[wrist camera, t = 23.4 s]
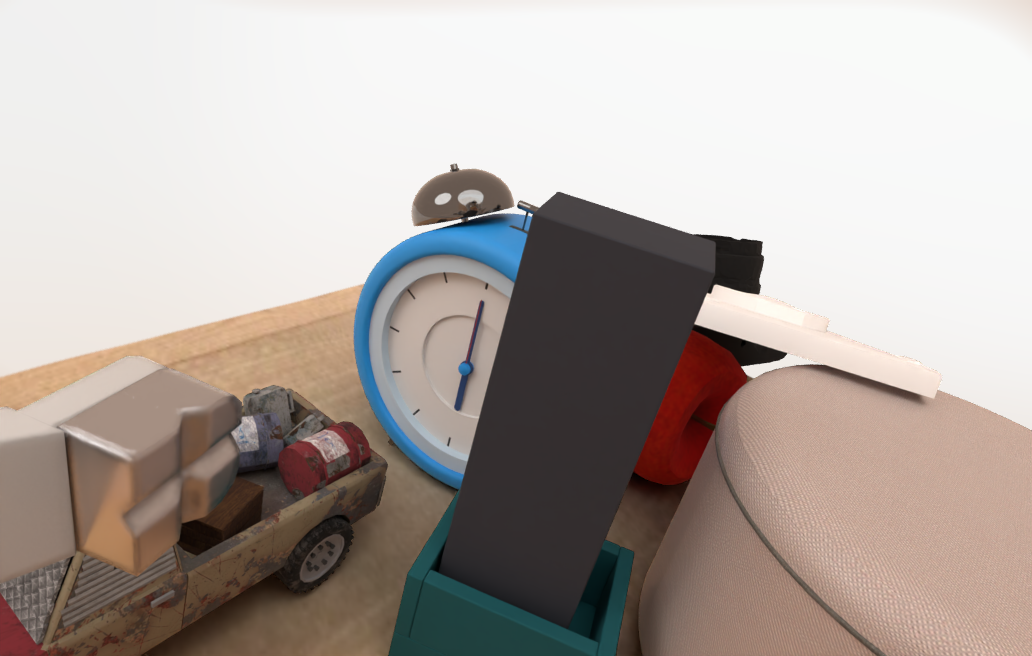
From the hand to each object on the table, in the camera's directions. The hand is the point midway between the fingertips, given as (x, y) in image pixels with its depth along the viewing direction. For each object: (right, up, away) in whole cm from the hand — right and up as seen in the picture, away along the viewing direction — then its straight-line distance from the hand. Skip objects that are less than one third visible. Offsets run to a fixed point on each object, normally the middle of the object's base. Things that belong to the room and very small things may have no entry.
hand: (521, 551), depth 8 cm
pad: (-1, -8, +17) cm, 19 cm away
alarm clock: (-3, -4, +28) cm, 28 cm away
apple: (+4, +1, +34) cm, 35 cm away
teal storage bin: (-1, -10, +18) cm, 20 cm away
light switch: (+15, +4, +38) cm, 41 cm away
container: (+13, -13, +19) cm, 26 cm away
